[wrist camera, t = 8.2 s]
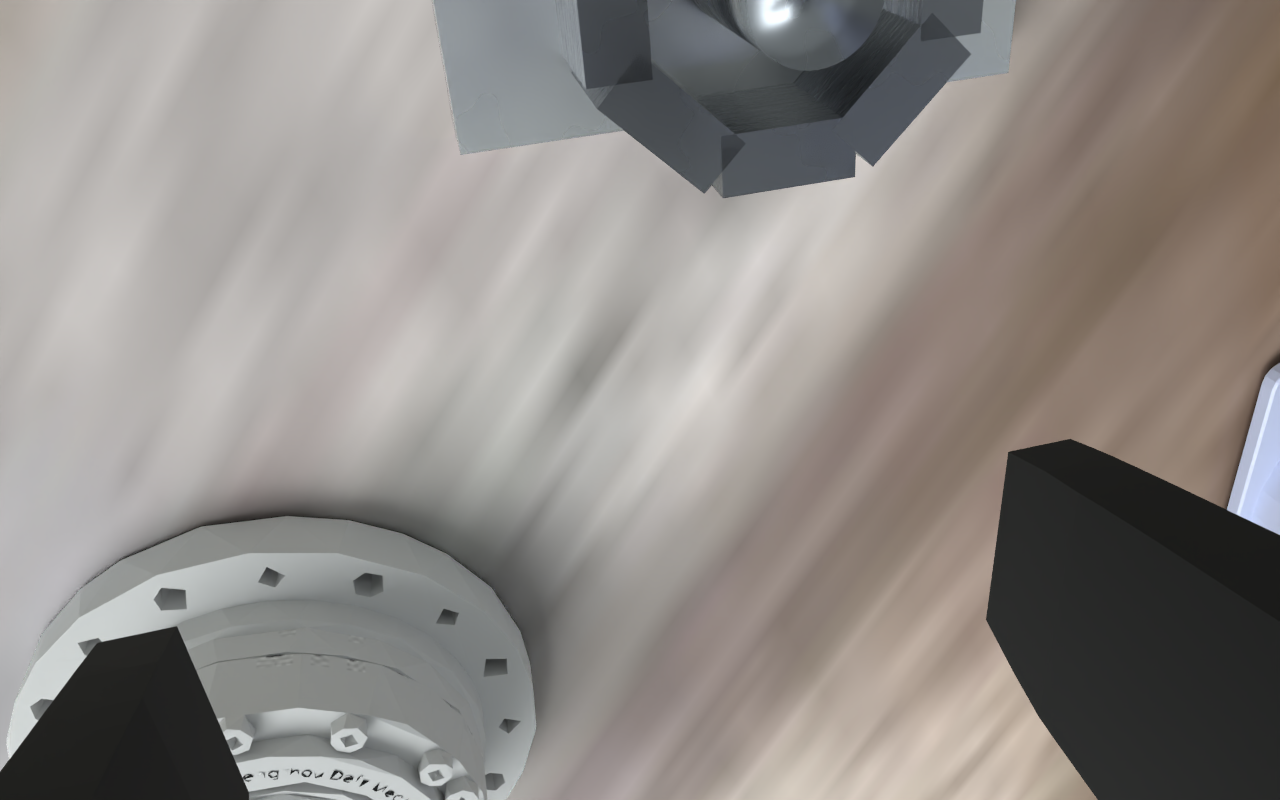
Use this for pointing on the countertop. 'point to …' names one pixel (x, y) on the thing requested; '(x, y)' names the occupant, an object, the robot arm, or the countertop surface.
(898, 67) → the piston block
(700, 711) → the countertop surface
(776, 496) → the countertop surface
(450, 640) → the mechanical component
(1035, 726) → the countertop surface
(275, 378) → the countertop surface
